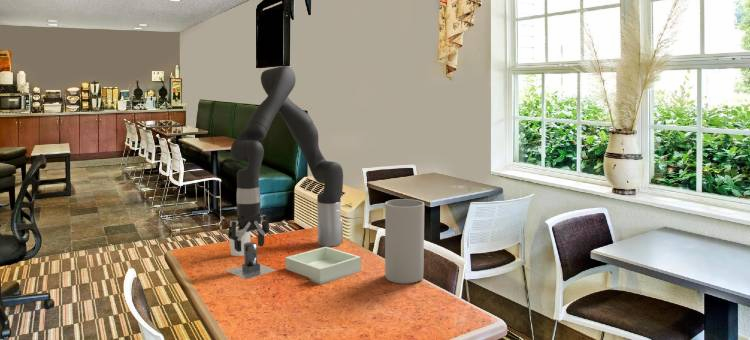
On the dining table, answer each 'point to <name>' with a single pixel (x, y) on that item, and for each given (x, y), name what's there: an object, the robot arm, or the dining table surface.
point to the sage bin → (324, 264)
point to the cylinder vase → (404, 240)
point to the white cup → (244, 240)
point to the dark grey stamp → (250, 258)
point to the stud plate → (246, 275)
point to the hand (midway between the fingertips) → (249, 248)
